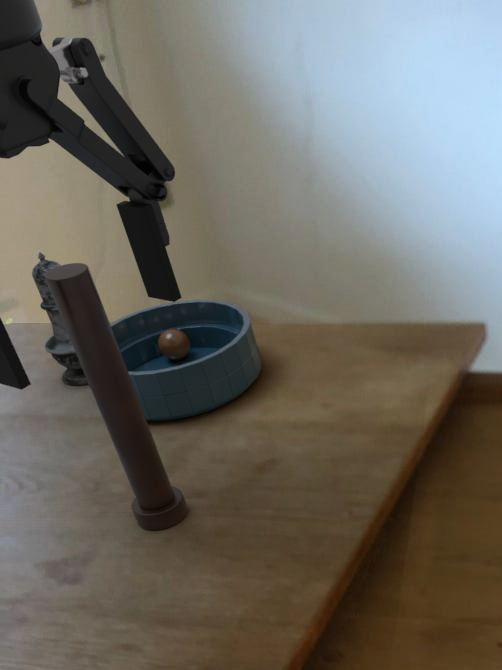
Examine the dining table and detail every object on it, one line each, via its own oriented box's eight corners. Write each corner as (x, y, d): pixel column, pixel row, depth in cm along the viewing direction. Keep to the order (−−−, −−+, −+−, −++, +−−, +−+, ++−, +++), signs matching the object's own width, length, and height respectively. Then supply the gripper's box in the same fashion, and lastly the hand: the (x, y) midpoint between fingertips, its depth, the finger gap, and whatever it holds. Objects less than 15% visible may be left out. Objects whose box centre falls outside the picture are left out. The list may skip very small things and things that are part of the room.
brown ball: (160, 367, 94) (150, 338, 92) (168, 352, 96) (158, 324, 94) (189, 364, 93) (180, 335, 91) (197, 350, 96) (188, 322, 94)
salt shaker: (130, 362, 97) (85, 242, 88) (91, 390, 93) (40, 267, 85) (86, 355, 99) (38, 238, 91) (46, 383, 95) (-8, 262, 87)
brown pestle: (131, 532, 74) (25, 286, 61) (145, 502, 77) (48, 261, 64) (180, 529, 74) (85, 281, 61) (193, 499, 77) (105, 256, 64)
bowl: (82, 430, 87) (61, 380, 84) (131, 353, 98) (114, 306, 95) (245, 418, 86) (229, 367, 82) (276, 341, 97) (263, 293, 93)
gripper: (-247, 16, 42) (-25, 438, 56) (161, -82, 57) (254, 273, 71) (-328, 16, 45) (-99, 414, 60) (77, -76, 60) (183, 261, 74)
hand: (93, 338), depth 65 cm, fingers open, 13 cm apart
